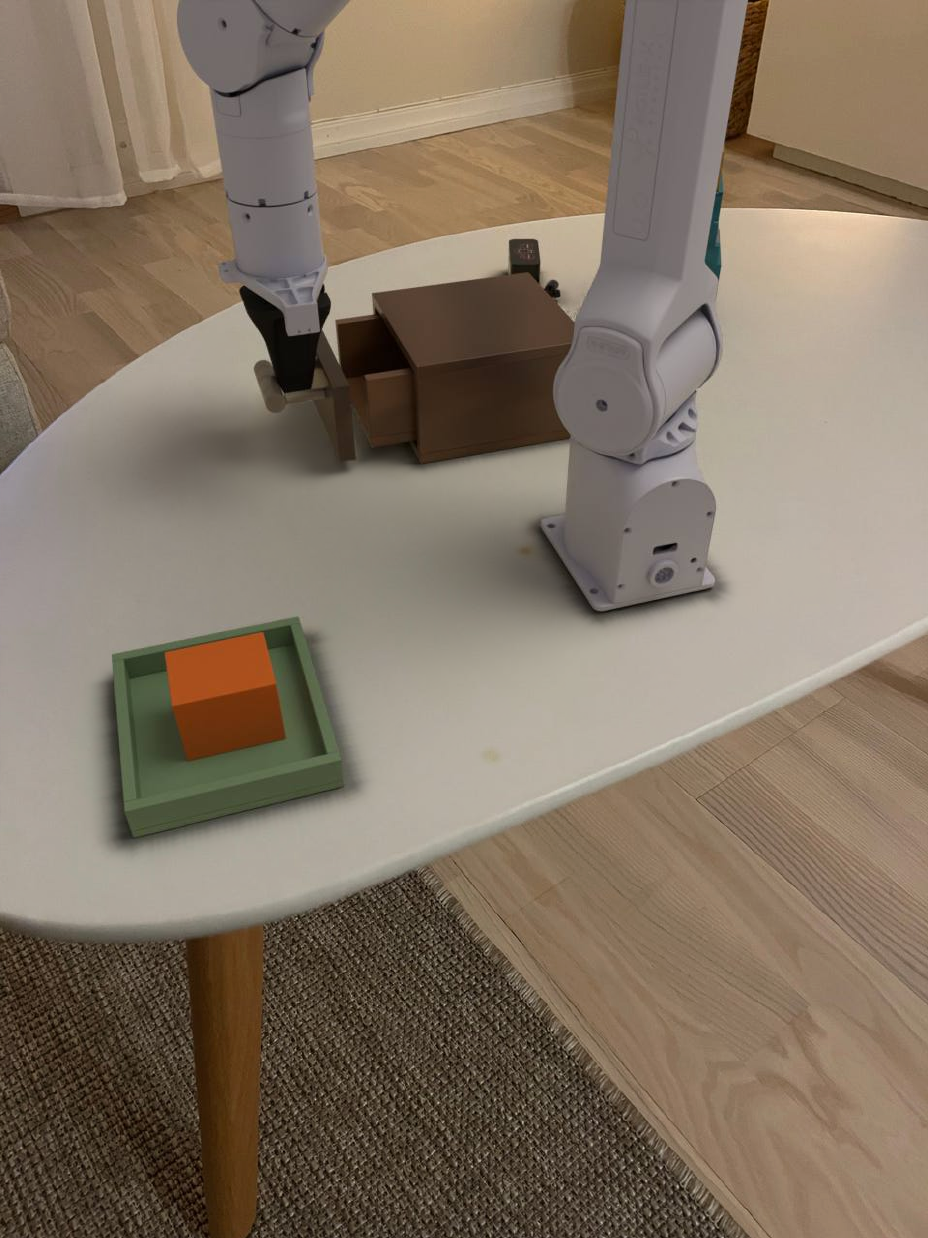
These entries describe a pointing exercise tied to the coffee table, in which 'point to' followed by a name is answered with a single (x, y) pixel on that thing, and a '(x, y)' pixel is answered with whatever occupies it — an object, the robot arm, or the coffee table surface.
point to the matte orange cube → (224, 696)
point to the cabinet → (480, 362)
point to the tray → (225, 782)
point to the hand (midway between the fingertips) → (295, 387)
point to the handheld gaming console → (715, 230)
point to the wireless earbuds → (528, 262)
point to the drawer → (354, 386)
